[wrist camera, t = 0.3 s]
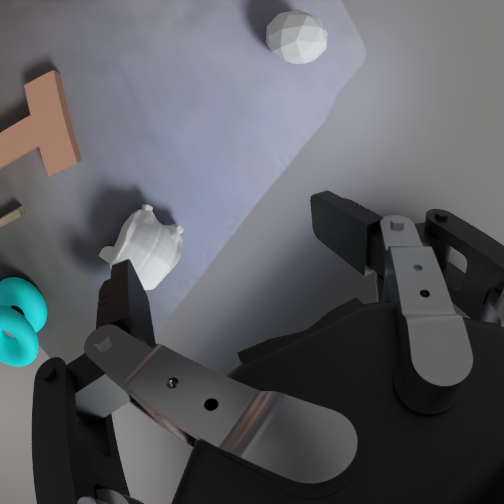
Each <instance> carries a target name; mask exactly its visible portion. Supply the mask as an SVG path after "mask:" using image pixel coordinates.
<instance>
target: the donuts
mask: <svg viewBox="0 0 504 504" xmlns="http://www.w3.org/2000/svg"><path fill="white" fill-rule="evenodd" d="M12 305H14V306H17V307H19V308H21V309H22V311H23V312H24V314H25V315H21V314H20V313H19V312H17V311H16V310H14V309H12V307H11V306H12ZM46 318H47V307H46V303H45V301H44V298H43V296H42V295H41V293H40V292H39V291H38V289H37V288H36V287H35V286H34V285H32V284H31V283H30V282H28V281H26V280H24V279H22V278H18V277H9V278H5V279H3V280H2V281H0V361H1V362H3V363H5V364H8V365H11V366H25V365H28V364H30V363H31V362H33V361H34V359H35V358H36V356H37V353H38V348H39V344H38V338H37V335H36V333H35V332H37V331H39V330H40V329H41V328H42V327H43V325H44V324H45V322H46ZM3 330H6V331H8V332H10V333H11V334H12V335H13V336H14V337H15V338H13V337H10V336H8V335H6V334H5V333H4V332H3Z"/></svg>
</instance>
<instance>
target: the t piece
mask: <svg viewBox="0 0 504 504" xmlns="http://www.w3.org/2000/svg"><path fill="white" fill-rule="evenodd" d="M24 87H25V92H26V97H27V102H28V106H29V111H30V116H28V117H26V118H24V119H23V120H21V121H19V122H17V123H16V124H14V125H12V126H11V127H9V128H7V129H6V130H4V131H3V132H1V133H0V169H1V168H3V167H5V166H6V165H8V164H9V163H11V162H13V161H14V160H16V159H18V158H20V157H21V156H23V155H25V154H27V153H29V152H30V151H32V150H34V149H36V148H38V147H39V148H40V152H41V155H42V158H43V161H44V164H45V167H46V170H47V173H48V176H51V175H53V174H56V173H58V172H60V171H62V170H64V169H66V168H68V167H71V166H73V165H75V164H77V163H78V162H80V161H81V160H82V158H81V155H80V151H79V148H78V145H77V141H76V138H75V134H74V131H73V127H72V124H71V120H70V116H69V112H68V108H67V104H66V100H65V95H64V91H63V86H62V81H61V76H60V73H59V72H57V71H55V70H52V71H50V72H48V73H46V74H44V75H42V76H40V77H38V78H37V79H35V80H33V81H31V82H29V83H27V84H26V85H24Z"/></svg>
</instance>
